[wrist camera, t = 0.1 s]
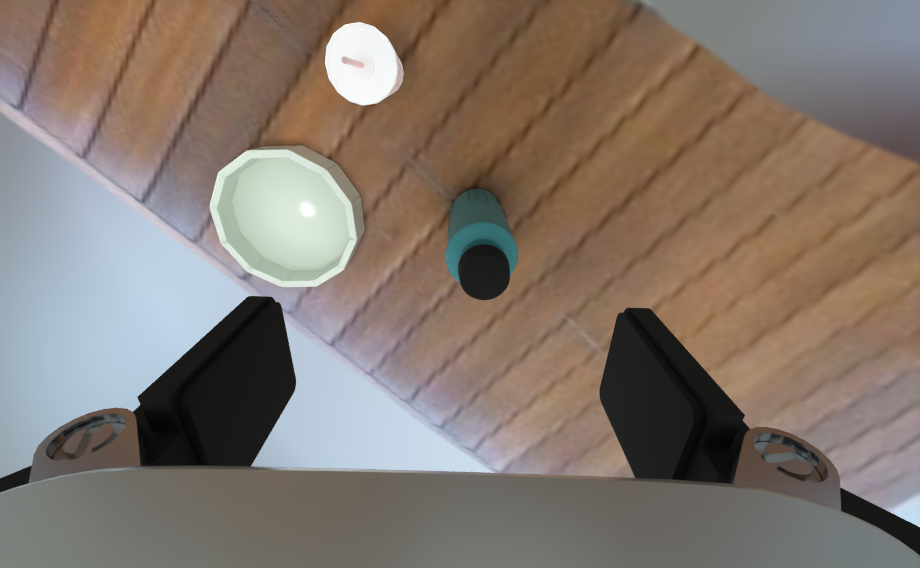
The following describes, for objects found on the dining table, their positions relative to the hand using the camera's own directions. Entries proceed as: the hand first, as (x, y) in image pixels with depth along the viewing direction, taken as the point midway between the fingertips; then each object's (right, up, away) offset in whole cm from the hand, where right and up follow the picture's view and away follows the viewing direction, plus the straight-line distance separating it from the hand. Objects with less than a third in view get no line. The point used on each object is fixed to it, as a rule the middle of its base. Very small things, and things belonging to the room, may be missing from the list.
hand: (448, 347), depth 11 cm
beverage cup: (-8, +24, +30) cm, 39 cm away
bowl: (-20, +10, +36) cm, 43 cm away
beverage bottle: (+2, +11, +36) cm, 38 cm away
